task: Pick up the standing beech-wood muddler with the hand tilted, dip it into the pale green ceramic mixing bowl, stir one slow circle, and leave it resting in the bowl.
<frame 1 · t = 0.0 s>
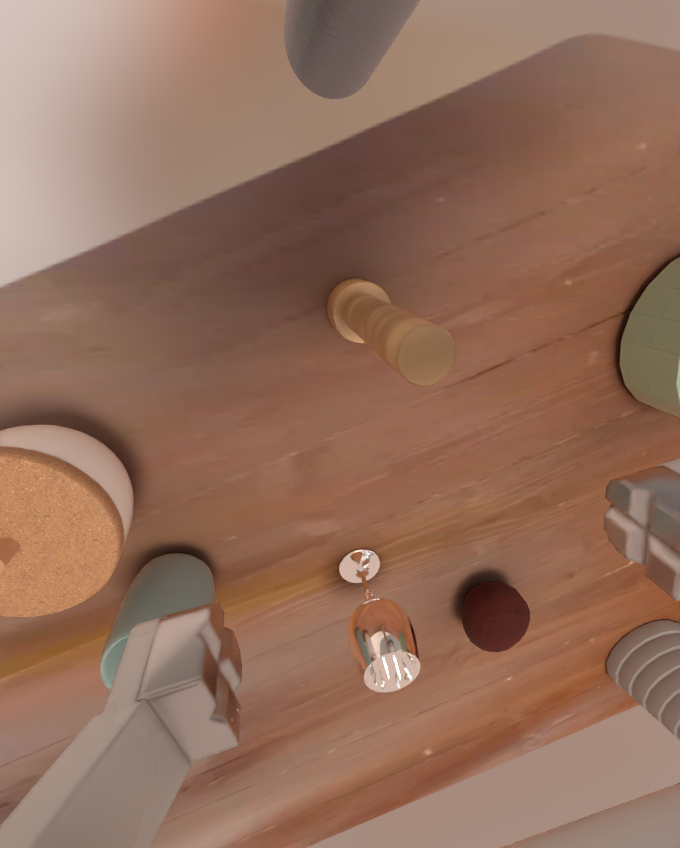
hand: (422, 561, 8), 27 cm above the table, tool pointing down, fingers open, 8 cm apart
lidded bowl: (71, 470, 34), on the table
muddler: (354, 307, 33), on the table
wineglass: (359, 564, 44), on the table
cup: (179, 570, 40), on the table
soap bottle: (643, 650, 59), on the table
potato: (481, 594, 49), on the table
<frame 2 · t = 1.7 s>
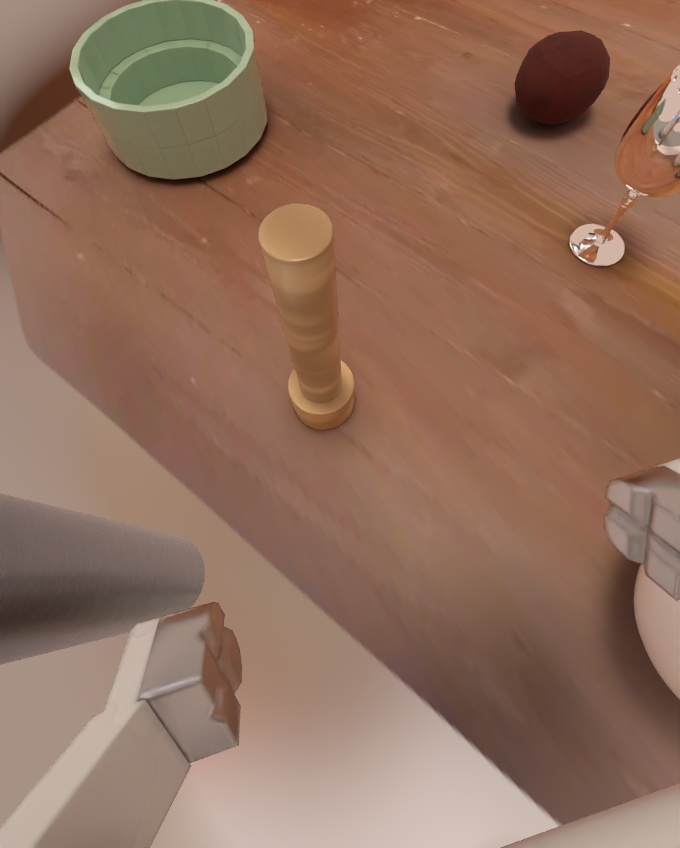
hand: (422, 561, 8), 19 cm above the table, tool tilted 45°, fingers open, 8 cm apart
muddler: (323, 401, 30), on the table
wineglass: (595, 246, 35), on the table
mixing bowl: (190, 127, 41), on the table
potato: (544, 114, 40), on the table
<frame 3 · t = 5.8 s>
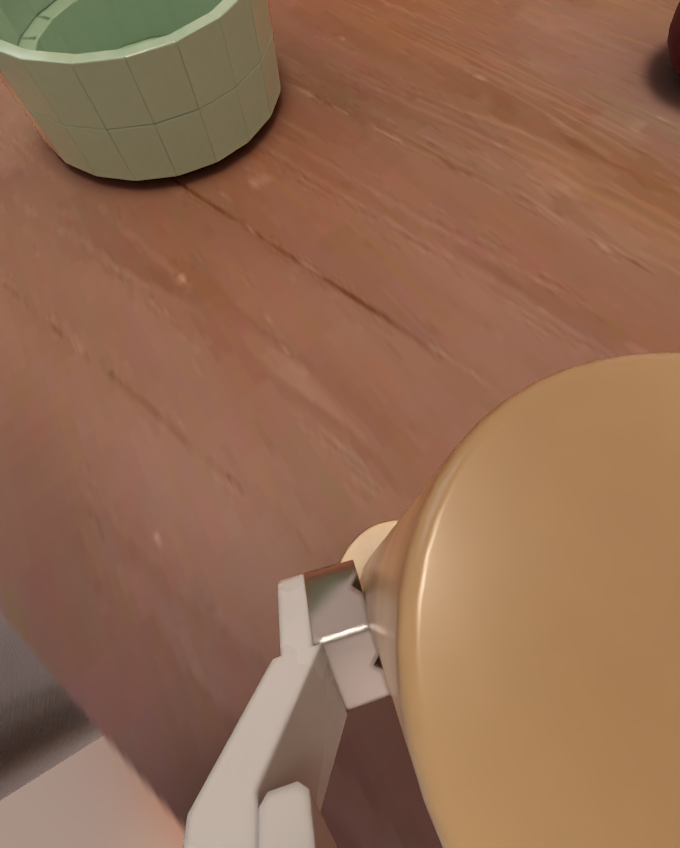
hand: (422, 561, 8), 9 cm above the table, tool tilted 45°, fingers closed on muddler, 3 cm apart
muddler: (394, 585, 17), on the table, touching gripper
mixing bowl: (165, 102, 27), on the table
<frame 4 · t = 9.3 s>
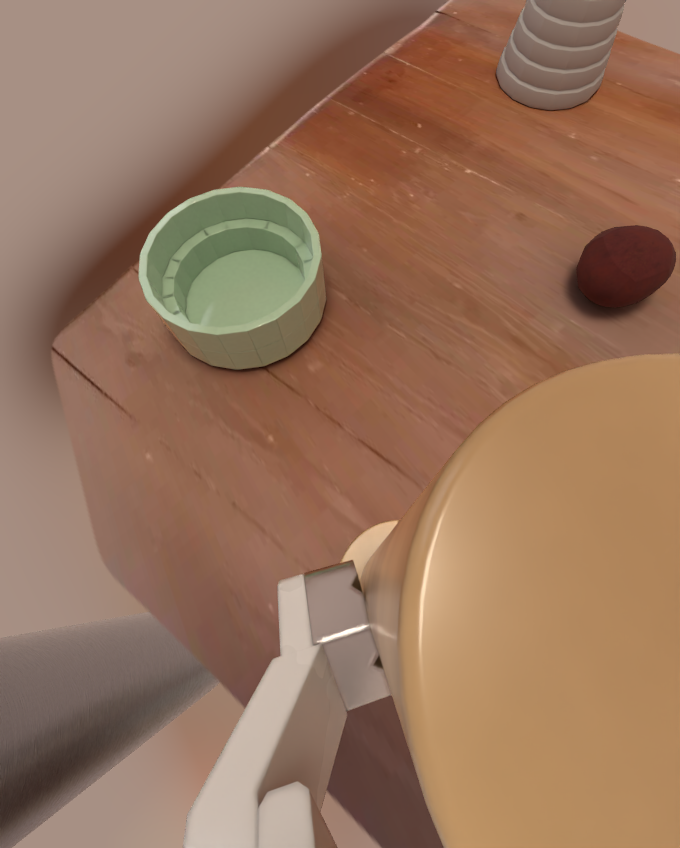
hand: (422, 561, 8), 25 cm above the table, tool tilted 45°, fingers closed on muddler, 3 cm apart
muddler: (394, 585, 17), point 16 cm above the table, touching gripper
soap bottle: (546, 78, 51), on the table
mixing bowl: (248, 302, 41), on the table
potato: (603, 288, 40), on the table
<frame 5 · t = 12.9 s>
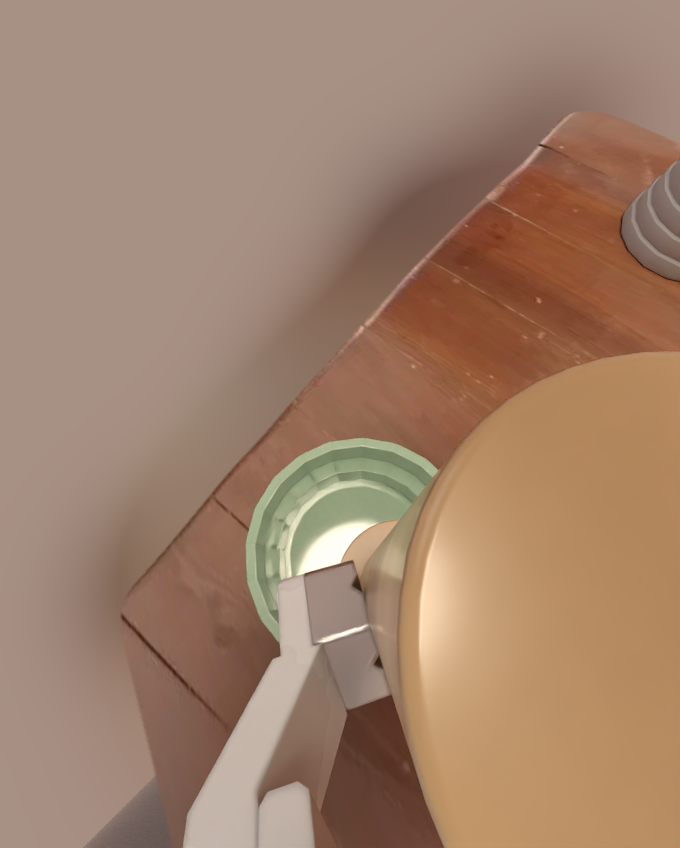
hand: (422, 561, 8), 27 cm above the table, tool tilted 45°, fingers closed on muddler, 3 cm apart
muddler: (394, 585, 17), point 18 cm above the table, touching gripper
soap bottle: (679, 238, 44), on the table
mixing bowl: (359, 553, 34), on the table
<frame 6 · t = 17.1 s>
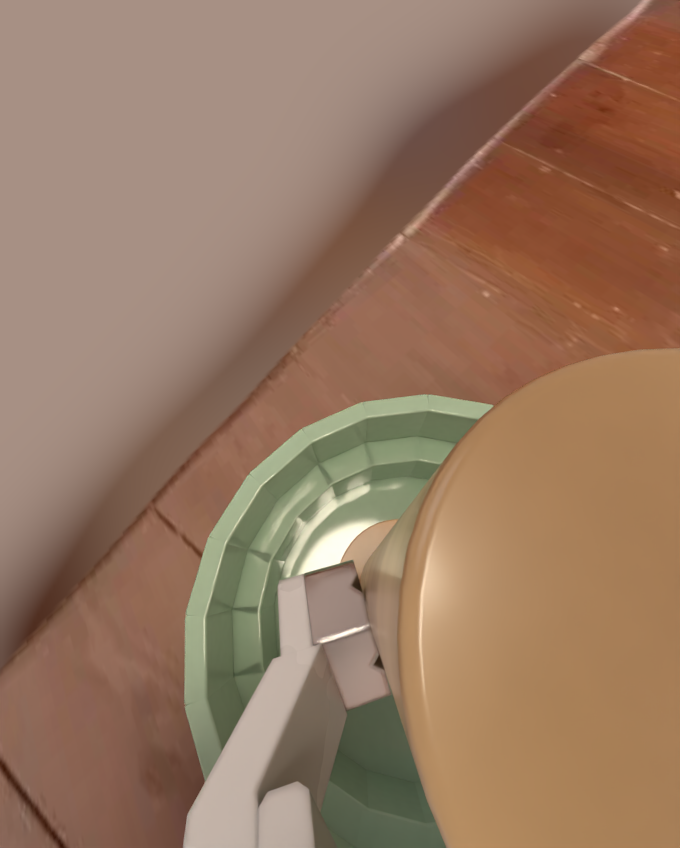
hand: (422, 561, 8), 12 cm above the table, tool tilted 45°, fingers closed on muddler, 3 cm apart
muddler: (394, 584, 17), point 3 cm above the table, touching gripper
mixing bowl: (409, 610, 19), on the table
when the fingers open (9 cm above the table, at t = 20.3 s): muddler stays where it is, resting on mixing bowl.
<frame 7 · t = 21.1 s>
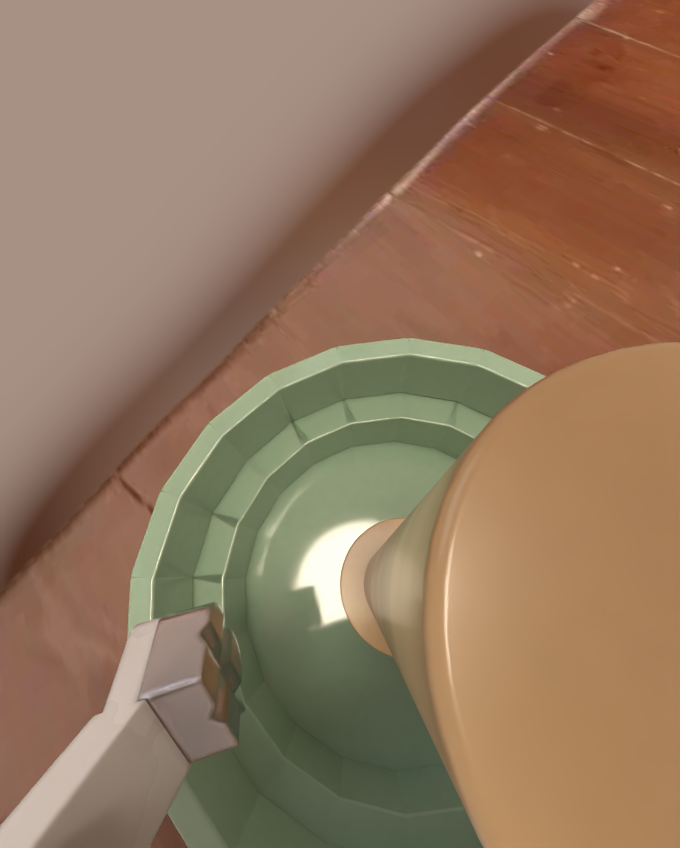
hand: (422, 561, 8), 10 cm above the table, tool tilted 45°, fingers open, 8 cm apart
muddler: (397, 583, 17), point 1 cm above the table, touching mixing bowl
mixing bowl: (393, 584, 17), on the table
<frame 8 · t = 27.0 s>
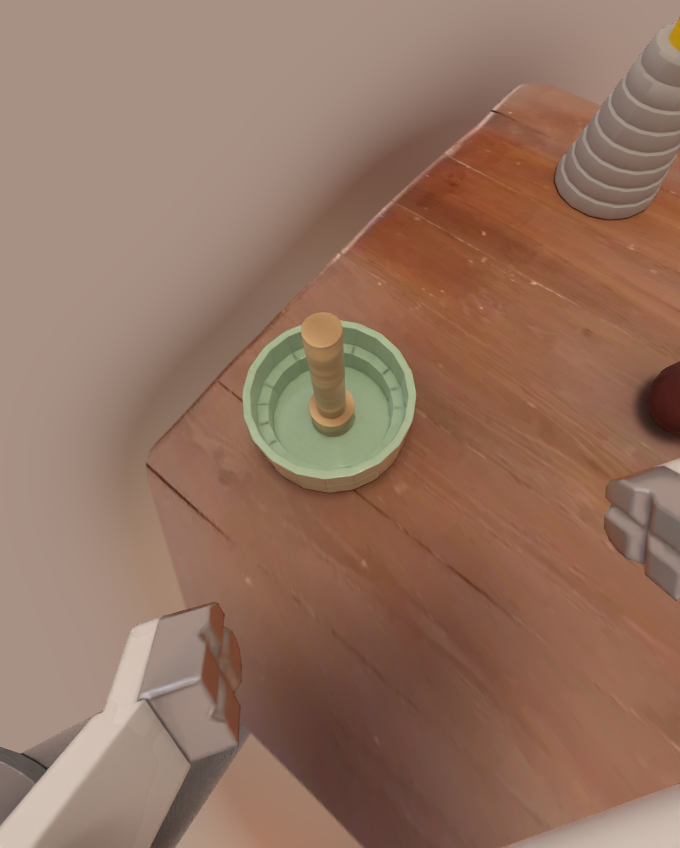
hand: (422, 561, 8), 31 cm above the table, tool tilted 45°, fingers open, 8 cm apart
muddler: (333, 416, 43), point 1 cm above the table, touching mixing bowl
soap bottle: (602, 184, 53), on the table
mixing bowl: (332, 419, 43), on the table
potato: (670, 409, 43), on the table
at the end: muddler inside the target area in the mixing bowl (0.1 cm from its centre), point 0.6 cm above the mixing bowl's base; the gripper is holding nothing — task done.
